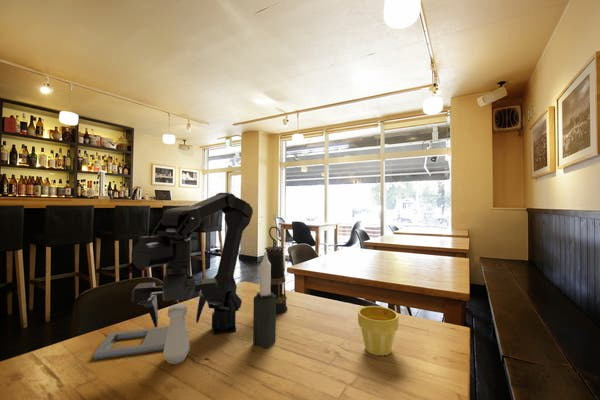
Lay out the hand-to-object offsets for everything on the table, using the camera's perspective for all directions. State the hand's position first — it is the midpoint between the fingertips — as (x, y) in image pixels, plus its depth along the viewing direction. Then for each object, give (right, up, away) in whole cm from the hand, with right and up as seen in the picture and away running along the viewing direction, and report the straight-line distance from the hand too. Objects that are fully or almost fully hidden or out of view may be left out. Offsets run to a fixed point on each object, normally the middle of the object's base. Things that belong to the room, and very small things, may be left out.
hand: (177, 324), depth 69 cm
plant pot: (+51, -10, +6) cm, 52 cm away
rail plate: (-12, -8, +8) cm, 17 cm away
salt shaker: (0, -9, 0) cm, 9 cm away
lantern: (+21, -9, +32) cm, 39 cm away
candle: (+20, -9, +9) cm, 24 cm away
